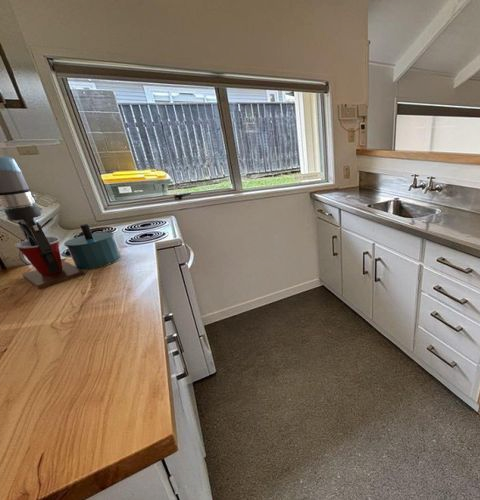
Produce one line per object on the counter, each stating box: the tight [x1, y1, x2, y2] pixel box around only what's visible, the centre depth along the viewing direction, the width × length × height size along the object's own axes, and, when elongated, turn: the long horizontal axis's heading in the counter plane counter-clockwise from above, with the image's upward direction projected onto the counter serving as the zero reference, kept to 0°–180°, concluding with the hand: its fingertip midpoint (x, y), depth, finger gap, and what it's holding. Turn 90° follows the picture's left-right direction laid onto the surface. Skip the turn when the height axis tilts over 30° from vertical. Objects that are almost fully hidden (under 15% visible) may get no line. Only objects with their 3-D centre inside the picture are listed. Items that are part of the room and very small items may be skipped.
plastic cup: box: [14, 236, 63, 275], centre depth 100 cm, size 11×11×12 cm
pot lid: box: [63, 223, 115, 248], centre depth 108 cm, size 15×15×7 cm
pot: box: [66, 236, 121, 271], centre depth 111 cm, size 14×14×10 cm
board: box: [21, 261, 86, 290], centre depth 102 cm, size 12×18×2 cm, turn 59°
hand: (50, 268), depth 101 cm, fingers closed on plastic cup, 8 cm apart
